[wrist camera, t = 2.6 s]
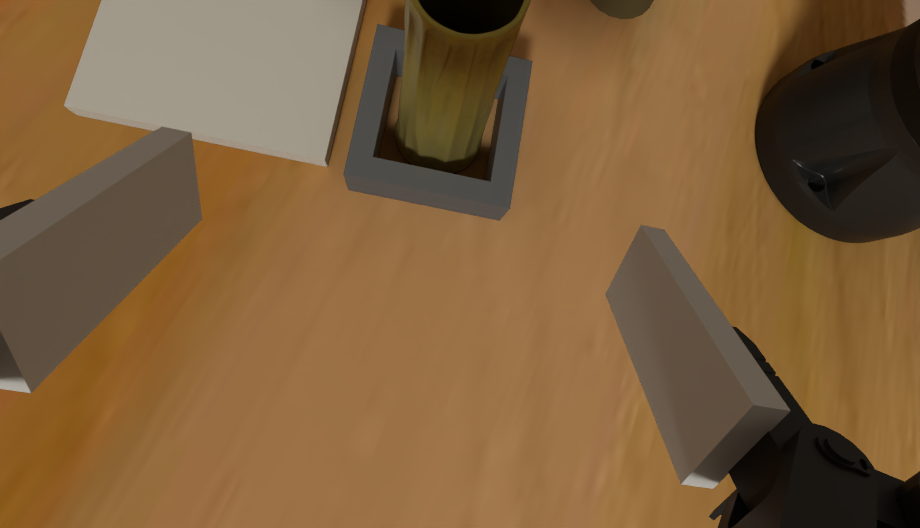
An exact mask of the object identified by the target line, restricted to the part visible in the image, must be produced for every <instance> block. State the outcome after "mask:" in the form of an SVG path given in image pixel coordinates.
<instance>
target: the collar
mask: <svg viewBox="0 0 920 528" xmlns="http://www.w3.org/2000/svg"><path fill="white" fill-rule="evenodd" d="M404 43H405V30H401V29H397V28H393V27H388V26H384V25H380V24H377V29H376V33H375V37H374V42H373V46H372V51H371V55H370V60H369V64H368V68H367V73H366V77H365V82H364V86H363V90H362V95H361V99H360V104H359V108H358V112H357V117H356V121H355V126H354V130H353V134H352V139H351V143H350V148H349V152H348V157H347V161H346V165H345V170H344V177H345V180H346V184H347V187H348V190H352V191H356V192H361V193H366V194H371V195H376V196H381V197H386V198H391V199H396V200H401V201H406V202H411V203H416V204H421V205H426V206H431V207H436V208H441V209H445V210H450V211H455V212H460V213H465V214H470V215H475V216H480V217H485V218H490V219H495V220H500V219H501V218H502V217H503V216H504V215H505V214H506V212H507V211H508V210H509V209H510V204H511V198H512V191H513V185H514V178H515V172H516V165H517V158H518V152H519V145H520V139H521V132H522V126H523V119H524V113H525V106H526V100H527V93H528V86H529V80H530V73H531V67H532V61H529V60H525V59H521V58H517V57H512V56H509V58H508V61H507V64H506V67H505V70H504V73H503V76H502V79H501V82H500V84H499V87H498V90H497V92H496V96H495V98H496V99H498V103H497V109H496V115H495V121H494V127H493V133H492V139H491V146H490V152H489V158H488V164H487V170H486V176H485V180H480V179H475V178H471V177H466V176H461V175H457V174H452V173H447V172H442V171H438V170H433V169H428V168H423V167H419V166H414V165H409V164H404V163H400V162H395V161H390V160H385V159H381V158H378V157H379V153H380V148H381V143H382V138H383V134H384V129H385V124H386V120H387V115H388V110H389V106H390V101H391V96H392V92H393V87H394V82H395V77H396V75H397V76H401V77H402V69H403V56H404Z"/></svg>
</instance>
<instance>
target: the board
mask: <svg viewBox="0 0 920 528" xmlns="http://www.w3.org/2000/svg"><path fill="white" fill-rule="evenodd" d="M366 1H367V0H102V1H101V4H100V6H99V9H98V12H97V15H96V18H95V20H94V23H93V26H92V29H91V32H90V34H89V37H88V40H87V43H86V46H85V48H84V51H83V54H82V57H81V59H80V62H79V65H78V68H77V71H76V73H75V76H74V79H73V82H72V85H71V87H70V90H69V93H68V96H67V99H66V101H65V104H64V106H65V107H66V108H68V109H69V110H71V111H72V112H73V113H75V114H76V115H79V116H84V117H88V118H93V119H98V120H103V121H108V122H113V123H117V124H122V125H127V126H132V127H137V128H142V129H147V130H151V131H155V130H157V129H158V128H160V127H167V128H172V129H177V130H182V131H187V132H191V133H192V139H195V140H200V141H205V142H209V143H214V144H219V145H224V146H229V147H234V148H238V149H243V150H248V151H253V152H258V153H263V154H268V155H272V156H277V157H282V158H287V159H292V160H297V161H301V162H306V163H311V164H316V165H321V166H326V167H328V163H329V159H330V154H331V150H332V146H333V141H334V137H335V133H336V129H337V124H338V120H339V116H340V112H341V107H342V103H343V99H344V94H345V90H346V86H347V82H348V77H349V73H350V69H351V65H352V60H353V56H354V52H355V48H356V43H357V39H358V35H359V30H360V26H361V22H362V18H363V13H364V9H365V5H366Z"/></svg>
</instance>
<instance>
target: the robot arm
mask: <svg viewBox="0 0 920 528" xmlns="http://www.w3.org/2000/svg"><path fill="white" fill-rule="evenodd" d="M756 144H757V151H758V156H759V161H760V164H761V167H762V170H763V173H764V175H765V178H766V180H767V182H768V184H769V186H770V187H771V189H772V191H773V192H774V194H775V195H776V197H777V198H778V200H779V201H780V202H781V204H782V205H783V206H784V207H785V208H786V209H787V210H788V211H789V212H790V213H791V214H792V215H793V216H794V217H795V218H796V219H797V220H798V221H800V222H801V223H802V224H804V225H805V226H807V227H808V228H810V229H811V230H813V231H815V232H817V233H819V234H821V235H823V236H825V237H828V238H831V239H834V240H838V241H842V242H849V243H865V242H871V241H876V240H881V239H886V238H891V237H895V236H899V235H903V234H906V233H908V232H911V231H914V230H916V229H918V228H920V19H919V20H917V21H916V22H914V23H912V24H910V25H909V26H907V27H905V28H902V29H899V30H896V31H893V32H890V33H887V34H884V35H881V36H877V37H874V38H871V39H868V40H865V41H862V42H858V43H855V44H852V45H849V46H846V47H843V48H840V49H837V50H834V51H830V52H827V53H824V54H821V55H819V56H817V57H815V58H813V59H810V60H809V61H807V62H805V63H804V64H802V65H801V66H799V67H798V68H796V69H795V70H793V71H792V72H790V73H789V74H788V75H786V76H785V77H783V78H782V79H781V80H779V81H778V82H777V83H776V84H775V85H774V86H773V87H772V89H771V90H770V91H769V93H768V94H767V96H766V98H765V99H764V101H763V104H762V106H761V109H760V112H759V116H758V120H757V128H756ZM201 220H202V214H201V206H200V198H199V190H198V182H197V174H196V165H195V157H194V149H193V141H192V133H191V132H187V131H182V130H177V129H172V128H167V127H160V128H158V129H157V130H155V131H153V132H152V133H150V134H148V135H146V136H145V137H143V138H141V139H140V140H138V141H136V142H134V143H133V144H131V145H129V146H128V147H126V148H124V149H122V150H121V151H119V152H117V153H115V154H114V155H112V156H110V157H109V158H107V159H105V160H103V161H102V162H100V163H98V164H97V165H95V166H93V167H91V168H90V169H88V170H86V171H84V172H83V173H81V174H79V175H78V176H76V177H74V178H72V179H71V180H69V181H67V182H66V183H64V184H62V185H60V186H59V187H57V188H55V189H53V190H52V191H50V192H48V193H47V194H45V195H43V196H41V197H40V198H38V199H36V200H32V199H29V200H26V201H23V202H19V203H16V204H13V205H10V206H6V207H3V208H0V389H6V390H13V391H20V392H27V393H32V392H33V391H34V390H35V389H36V388H37V387H38V386H39V385H40V383H41V382H42V381H43V380H44V379H45V378H46V377H47V376H48V375H49V374H50V373H51V372H52V371H53V370H54V369H55V368H56V367H57V366H58V365H59V364H60V363H61V362H62V361H63V360H64V359H65V358H66V357H67V356H68V355H69V354H70V353H71V352H72V351H73V350H74V349H75V348H76V347H77V346H78V345H79V344H80V343H81V342H82V341H83V340H84V339H85V338H86V337H87V336H88V335H89V334H90V333H91V332H92V331H93V330H94V329H95V328H96V327H97V326H98V325H99V323H100V322H101V321H102V320H103V319H104V318H105V317H106V316H107V315H108V314H109V313H110V312H111V311H112V310H113V309H114V308H115V307H116V306H117V305H118V304H119V303H120V302H121V301H122V300H123V299H124V298H125V297H126V296H127V295H128V294H129V293H130V292H131V291H132V290H133V289H134V288H135V287H136V286H137V285H138V284H139V283H140V282H141V281H142V280H143V279H144V278H145V277H146V276H147V275H148V274H149V273H150V272H151V271H152V270H153V269H154V268H155V267H156V266H157V264H158V263H159V262H160V261H161V260H162V259H163V258H164V257H165V256H166V255H167V254H168V253H169V252H170V251H171V250H172V249H173V248H174V247H175V246H176V245H177V244H178V243H179V242H180V241H181V240H182V239H183V238H184V237H185V236H186V235H187V234H188V233H189V232H190V231H191V230H192V229H193V228H194V227H195V226H196V225H197V224H198V223H199V222H200V221H201ZM606 297H607V299H608V302H609V304H610V307H611V309H612V312H613V314H614V317H615V319H616V322H617V324H618V327H619V330H620V332H621V335H622V337H623V340H624V342H625V345H626V347H627V350H628V352H629V355H630V357H631V360H632V362H633V365H634V367H635V370H636V372H637V375H638V377H639V380H640V382H641V385H642V387H643V390H644V392H645V395H646V397H647V400H648V402H649V405H650V407H651V410H652V412H653V415H654V417H655V420H656V423H657V425H658V428H659V430H660V433H661V435H662V438H663V440H664V443H665V445H666V448H667V450H668V453H669V455H670V458H671V460H672V463H673V465H674V468H675V470H676V473H677V475H678V478H679V480H680V483H681V484H683V485H690V486H697V487H704V488H711V489H713V488H714V487H715V486H716V485H717V484H718V483H719V482H720V481H721V480H722V479H723V478H724V477H725V476H726V475H727V474H728V473H729V474H730V476H731V478H732V480H733V482H734V484H735V486H736V488H737V489H736V490H735V491H734V492H733V493H732V494H731V495H730V496H729V497H728V498H727V499H725V500H724V501H723V502H722V503H721V504H720V505H719V506H718V507H717V508H716V509H715V510H714V511H713V512H712V513H711V515H710V516H709V517H710V518H711V519H713V520H715V519H716V518H717V517H718V516H719V515H722V517H721V519H720V522H719V525H718V528H920V471H919V472H918V473H917V474H915V475H914V476H912V477H911V478H909V479H908V480H907V481H905V482H904V481H901V480H899V479H897V478H894V477H892V476H889V475H887V474H885V473H882V472H880V471H877V470H875V469H874V467H873V466H872V464H871V463H870V461H869V460H868V458H867V457H866V456H865V455H864V454H863V453H862V452H861V451H860V450H859V449H858V448H857V447H856V446H855V445H854V444H853V443H852V442H850V441H849V440H848V439H846V438H845V437H844V436H842V435H841V434H839V433H837V432H835V431H833V430H831V429H829V428H827V427H825V426H821V425H817V424H812V422H811V421H810V419H809V418H808V417H807V415H806V414H805V413H804V411H803V410H802V408H801V407H800V406H799V404H798V403H797V402H796V400H795V399H794V397H793V396H792V395H791V393H790V392H789V391H788V389H787V388H786V386H785V385H784V384H783V382H782V381H781V379H780V378H779V377H778V376H775V374H776V373H775V371H774V370H773V368H772V367H771V366H770V364H769V363H767V362H765V361H766V359H765V357H764V356H763V355H762V353H761V352H760V351H759V349H758V348H757V346H756V345H755V344H754V343H753V342H752V341H751V340H750V339H749V338H748V337H747V336H746V335H744V334H743V333H742V332H741V331H740V330H739V329H738V328H736V327H732V326H731V325H730V323H729V322H728V320H727V319H726V317H725V316H724V315H723V313H722V312H721V310H720V309H719V307H718V306H717V305H716V303H715V302H714V300H713V299H712V297H711V296H710V294H709V293H708V292H707V290H706V289H705V287H704V286H703V284H702V283H701V282H700V280H699V279H698V277H697V276H696V274H695V273H694V272H693V270H692V269H691V267H690V266H689V264H688V263H687V262H686V260H685V259H684V257H683V256H682V254H681V253H680V252H679V250H678V249H677V247H676V246H675V244H674V243H673V242H672V240H671V239H670V237H669V236H668V234H667V233H666V231H665V230H663V229H658V228H653V227H648V226H643V225H641V226H640V228H639V230H638V232H637V234H636V236H635V238H634V240H633V241H632V243H631V245H630V247H629V249H628V251H627V253H626V255H625V257H624V259H623V261H622V263H621V265H620V267H619V269H618V271H617V273H616V275H615V277H614V279H613V281H612V282H611V284H610V286H609V288H608V290H607V292H606Z"/></svg>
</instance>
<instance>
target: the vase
mask: <svg viewBox="0 0 920 528" xmlns="http://www.w3.org/2000/svg"><path fill="white" fill-rule="evenodd" d="M529 4H530V0H406V3H405V43H404V56H403V69H402V80H401V89H400V99H399V111H398V119H397V123H396V128H395V134H396V141H397V144H398V147H399V149H400V151H401V153H402V155H403V156H404V157H405V158H406V159H407V161H408V162H410V163H411V164H412V165H414V166H419V167H423V168H428V169H433V170H438V171H442V172H447V173H454V172H457V171H459V170H462V169H463V168H465V167H466V166H467V165H469V164H470V163H471V162H472V161H473V160H474V158H475V157H476V155H477V153H478V151H479V148H480V144H481V138H482V134H483V131H484V128H485V125H486V122H487V119H488V117H489V114H490V112H491V109H492V106H493V102H494V99H495V96H496V92H497V90H498V87H499V84H500V82H501V79H502V76H503V73H504V70H505V67H506V64H507V61H508V58H509V55H510V53H511V50H512V48H513V45H514V43H515V40H516V38H517V35H518V33H519V30H520V27H521V24H522V22H523V19H524V17H525V14H526V11H527V9H528V6H529Z"/></svg>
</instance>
